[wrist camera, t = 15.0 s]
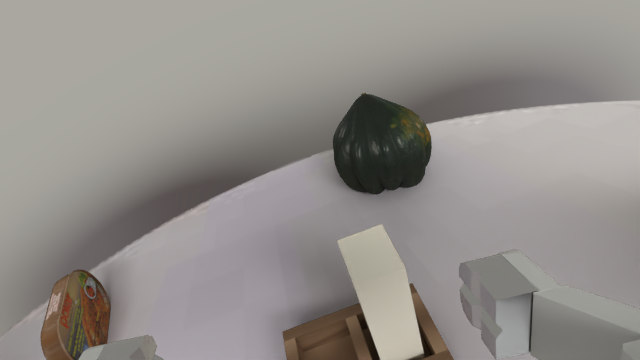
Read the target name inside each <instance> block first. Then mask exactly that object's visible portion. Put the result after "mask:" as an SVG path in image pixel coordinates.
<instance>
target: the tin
mask: <svg viewBox="0 0 640 360" xmlns="http://www.w3.org/2000/svg"><path fill="white" fill-rule="evenodd" d="M109 316H110V303H109V299H108V296H107V293H106V291H105V289H104V288H103V286H102V285H101V283H100V282H99V281H98V280H97V278H95V277H94V276H93V275H92V274H91V273H89V272H87V271H85V270H75V271H73V272H72V273H71V274H69V275H67V276H65V277H64V278H62V279H60V280H59V281H57V282H56V284H55V285H54V287H53V290H52V294H51V297H50V301H49V305H48V308H47V312H46V316H45V320H44V324H43V327H42V331H41V346H42V350H43V353H44V355H45V357H46V359H47V360H79V358H80V356H81V355H82V353H83V351H85V350H86V349H88V348H89V347H94V346H99V345H103V344H107V336H108V326H109Z"/></svg>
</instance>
